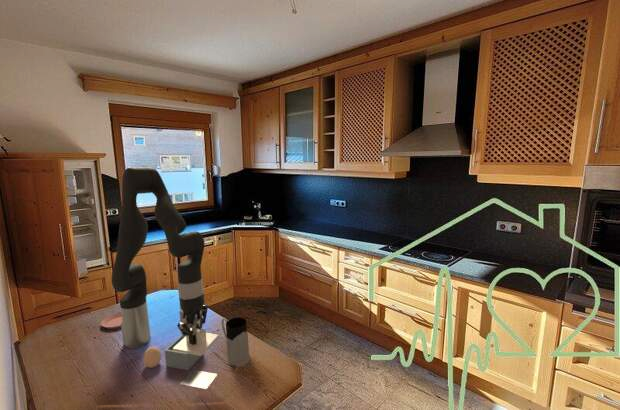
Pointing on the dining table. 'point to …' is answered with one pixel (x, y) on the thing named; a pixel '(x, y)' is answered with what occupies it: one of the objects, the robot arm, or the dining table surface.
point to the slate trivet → (199, 379)
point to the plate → (112, 321)
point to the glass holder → (236, 341)
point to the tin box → (179, 357)
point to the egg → (152, 357)
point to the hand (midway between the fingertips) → (195, 341)
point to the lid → (200, 347)
